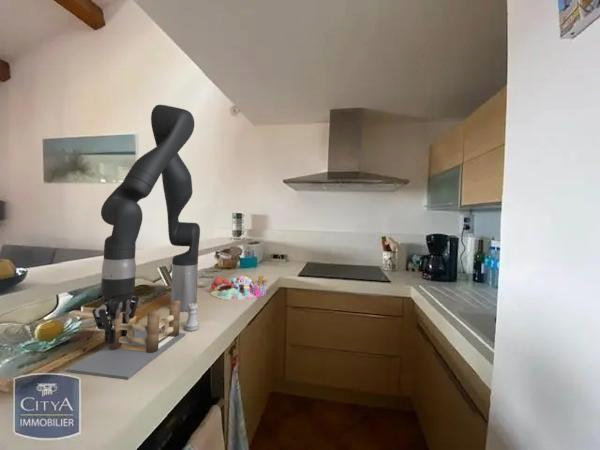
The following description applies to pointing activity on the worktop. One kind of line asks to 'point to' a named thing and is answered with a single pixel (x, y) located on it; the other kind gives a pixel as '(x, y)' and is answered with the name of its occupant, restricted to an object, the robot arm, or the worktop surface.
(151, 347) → the fixed fence section
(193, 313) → the rook chess piece
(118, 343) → the swinging fence panel
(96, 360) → the board
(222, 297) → the candy landscape model
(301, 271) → the worktop surface
